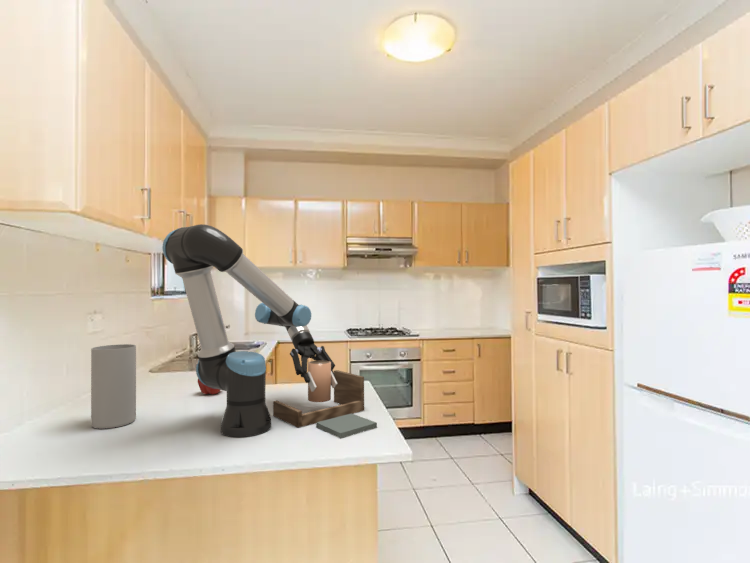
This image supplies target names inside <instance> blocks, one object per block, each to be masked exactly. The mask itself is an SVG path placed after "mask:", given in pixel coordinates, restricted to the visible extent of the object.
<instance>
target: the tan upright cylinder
mask: <svg viewBox="0 0 750 563" xmlns="http://www.w3.org/2000/svg"><path fill="white" fill-rule="evenodd" d="M309 371H310V373H311V376H312V378H313V380H314V382H315V384H316V386H317V387H316V389H315V390H314V392H312V391H311V389H310V387H309V385H308V384H307V401H309V402H311V403H324V402H328V401H331V398H332V396H331V395H332V386H331V362H330V361H316V360H311V361H307V372H309Z"/></svg>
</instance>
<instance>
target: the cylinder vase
mask: <svg viewBox="0 0 750 563" xmlns="http://www.w3.org/2000/svg"><path fill="white" fill-rule="evenodd" d="M90 351H91V352H90V353H91V354H90V359H91V360H90V361H91V362H90V367H91V368H90V372H91V373H90V377H91V378H90V386H91V387H90V426H91V427H92V428H94V429H98V428H99V429H101V430H102V429H103V430H107V428H108V429H113V428H114V429H115V427H116V428H119V427H124V426H127V425H130V424H132V423H134V422H135V421H136V419H137V344H131V343H130V344H129V343H128V344H127V343H126V344H125V343H124V344H123V343H122V344H109V345H98V346H95V347H91V348H90ZM129 423H130V424H129ZM105 428H106V429H105ZM99 429H98V430H99Z"/></svg>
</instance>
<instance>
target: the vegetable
mask: <svg viewBox="0 0 750 563" xmlns="http://www.w3.org/2000/svg"><path fill="white" fill-rule="evenodd" d="M197 384H198V387H199V390H200V391H201V392H200V393H202V394H203V395H216V394H218V393H220V392H221V390H219V389H213V388H210V387H208V386H206V385H204V384H203V383H202V382H201V381H200V380H199V379H198V378H197Z"/></svg>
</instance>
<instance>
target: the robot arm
mask: <svg viewBox="0 0 750 563" xmlns="http://www.w3.org/2000/svg"><path fill="white" fill-rule="evenodd" d="M161 248H162V249H161V250H162V254H163V256H164V258H165V259H166V260H167V262H169V263H171V264H172V266H173V269H174V273H175V275H177V276H179V277H180V278H181V280H182V283H183V286H184V287H183V288H184V291H185V295H186V297H187V300H188V305H189V308H190V312H191V317H192V319H193V323H194V326H195V330H196V335H197V338H198V343H199V345H200V350H199V351H198V353H197V358H198V361H197V363H196V366H195V374H196V376H197V380H198V379H199V380H200V381H201V382H202V383H203V384H204V385H206V386H208V387H210V388H213V389H219V390H220V391H224V392H226V407H225V410H224V413H223V416H222V419H221V422H220V433H221V434H222V435H223V436H226V437H233V438H244V437H252V436H257V435H260V434H263V433H266V432H267V431H269V430H270V429H271V428H272V417H271V414H270V412H269V408H268V406H267V403H266V387H267V386H266V383H267V382H266V375H267V374H266V371H267V370H266V369H267V365H266V359H265V357H264V355H262V354H261V353H259V352H255V351H245V350H243V351H241V350H240V351H238V350H237V351H236V348H235V347H236V346H235V343H233V342H231V341H229V339H228V336H227V332H226V327H225V323H224V320H223V315H222V312H221V308H220V303H219V301H218V296H217V293H216V288H215V285H214V281H213V280H214V279H213V276H212V273H211V272H212V270H213V268H215V269H217V270H218V271H219V272H220V273H227V274H228V275H229V276H230V277H232V278H233V279H234V280H235V281H236V282H237V283H238V284H239V285H241V286H242V287H244V289H245V290H247V291H248V292H249V293H250V294H252V296H254V297H255V298H256V299H258V300H259V301H260V303H259V304H257V306H256V308H255V313H254V317H255V320H256V322H258V323H261V324H263V325H272V326H277V327H284V328H285V329H286V331H287V333H288V335H289V338H290V340H291V342H292V345H293V347H294V348H292V349H291V350H290V353H289V355H290V357H291V358H292V363H293V367H294V371H295V374H296V376H300V378H303V379H304V382H305V383H306V384H307V386H308V385H309V387H310V389H311V391H312V392H314V390H315V389H316V387H317V386H316V384H315V382H314V380H313V378H312V376H311V373H310V371H309V372H308V359H312V361H330V362H331V389H334V388H335V386H336V385H337V384H338V383H337V381H336V379H335V374H334V369H335V367H336V364H335V363H334V361H333V360H332V358H331V357H330V355H329V354H328V352H327V351H326V349H325V348H326V347H325V346H324V345H321V346H317V345H316V344H315V339H314V338H313V336H312V334H311V331H310V329H309V326H308V325H309V323H310V322H311V320H312V311H311V309H310V307H309V306H307V305H305V304H298V303H297V302H296V301H295V300H294V299H293V298H292V297H290V296H289V295H288V294H287V292H285V291H284V289H282V288H281V287H280V286H278V284H276V283H275V282H274V281H273V279H271V278H270V277H269V276H268V275H267V274H266V273H265V272H263V271H262V269H260V268H259V267H258V266H257V265H256V264H254V262H252V261H251V259H249V258H248V257H247V256H246V255H245V254H244V249H243V248H242V247H241V246H240V245H239V244H238V243H237V242H236V241H235V240H233V239H232V238H231V237H230V236H228V235H227V234H226V233H225V232H223V231H222V230H220V229H218V228H217V227H215V226H212V225H209V224H203V223H202V224H200V223H199V224H194V225H190V226H185V227H179V228H176V229H174V230H171V231H170V232H169V233H168V234H167V235H166V236H165V238H163V242H162V247H161ZM299 357H300V358H299Z"/></svg>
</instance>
